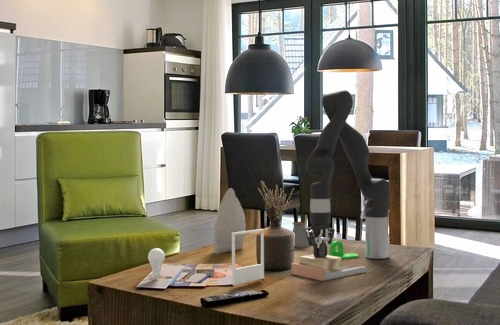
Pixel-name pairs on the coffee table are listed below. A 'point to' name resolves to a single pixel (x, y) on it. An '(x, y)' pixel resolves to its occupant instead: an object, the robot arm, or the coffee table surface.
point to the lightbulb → (156, 260)
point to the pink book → (320, 273)
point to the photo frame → (249, 271)
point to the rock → (229, 224)
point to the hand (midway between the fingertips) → (320, 256)
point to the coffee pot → (300, 234)
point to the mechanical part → (340, 251)
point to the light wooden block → (323, 261)
